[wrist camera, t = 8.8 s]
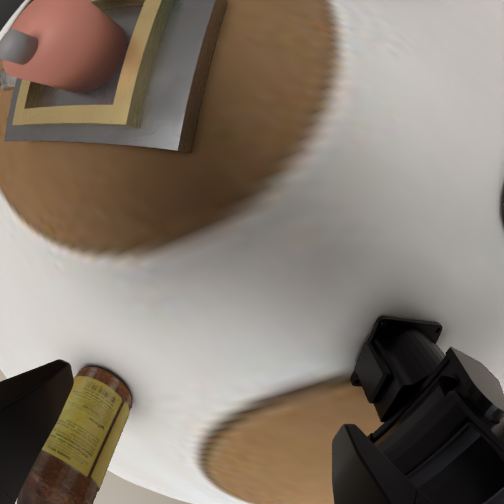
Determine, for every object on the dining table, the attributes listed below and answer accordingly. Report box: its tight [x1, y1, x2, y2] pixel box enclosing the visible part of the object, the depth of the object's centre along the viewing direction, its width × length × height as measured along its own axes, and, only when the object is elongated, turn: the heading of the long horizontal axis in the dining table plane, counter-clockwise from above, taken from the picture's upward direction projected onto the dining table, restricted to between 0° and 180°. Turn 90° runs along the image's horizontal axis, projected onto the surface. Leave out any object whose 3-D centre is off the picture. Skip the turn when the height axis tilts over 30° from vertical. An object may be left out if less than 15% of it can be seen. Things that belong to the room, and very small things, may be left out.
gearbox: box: [0, 0, 227, 153], centre depth 13 cm, size 17×11×4 cm, turn 79°
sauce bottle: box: [17, 367, 132, 504], centre depth 13 cm, size 6×6×20 cm
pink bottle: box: [0, 0, 127, 94], centre depth 9 cm, size 5×5×7 cm
